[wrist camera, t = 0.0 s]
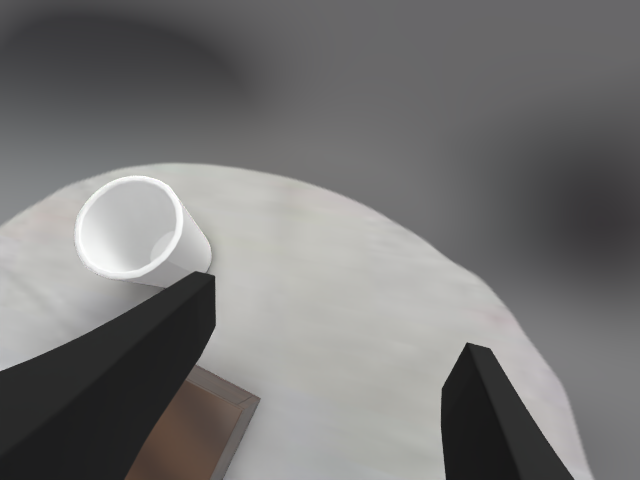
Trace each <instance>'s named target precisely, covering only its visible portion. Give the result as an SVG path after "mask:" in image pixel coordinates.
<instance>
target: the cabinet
mask: <svg viewBox="0 0 640 480" xmlns="http://www.w3.org/2000/svg"><path fill="white" fill-rule="evenodd" d="M259 401H260V398H259V397H257V396H255V395H253V394H251V393H249V392H247V391H246V390H244V389H242V388H240V387H238V386H236V385H234V384H232V383H230V382H228V381H226V380H224V379H222V378H220V377H219V376H217V375H215V374H213V373H211V372H209V371H207V370H205V369H203V368H201V367H199V366H197V365H195V366H194V367H193V369H192V370H191V372H190V373H189V375H188V376H187V378H186V379H185V381H184V383H183V384H182V386H181V387H180V389H179V390H178V392H177V393H176V395H175V396H174V398H173V399H172V401H171V402H170V404H169V405H168V407H167V408H166V410H165V411H164V413H163V414H162V416H161V417H160V419H159V420H158V422H157V423H156V425H155V426H154V428H153V429H152V431H151V433H150V434H149V436H148V438H147V439H146V441H145V443H144V444H143V446H142V448H141V450H140V452H139V454H138V455H137V457H136V459H135V461H134V463H133V465H132V466H131V468H130V470H129V472H128V474H127V476H126V477H125V479H124V480H223V477H224V475H225V473H226V471H227V469H228V467H229V465H230V463H231V460H232V458H233V456H234V454H235V452H236V450H237V448H238V446H239V443H240V441H241V439H242V437H243V435H244V433H245V431H246V429H247V426H248V424H249V422H250V420H251V418H252V416H253V414H254V412H255V409H256V407H257V405H258V403H259Z"/></svg>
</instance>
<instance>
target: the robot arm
mask: <svg viewBox="0 0 640 480" xmlns="http://www.w3.org/2000/svg"><path fill="white" fill-rule="evenodd" d="M215 326H216V310H215V276H213V275H210V274H206V273H202V272H198V271H194V272H193V273H191V274H189V275H187V276H186V277H184V278H182V279H181V280H179V281H177V282H176V283H174V284H173V285H171V286H169V287H168V288H166V289H164V290H163V291H161V292H160V293H158V294H156V295H155V296H153V297H151V298H150V299H148V300H146V301H145V302H143V303H141V304H139V305H138V306H136V307H134V308H133V309H131V310H129V311H127V312H126V313H124V314H122V315H120V316H119V317H117V318H115V319H113V320H111V321H109V322H107V323H106V324H104V325H102V326H100V327H98V328H96V329H94V330H93V331H91V332H89V333H87V334H85V335H83V336H81V337H79V338H77V339H75V340H73V341H70V342H68V343H66V344H64V345H62V346H60V347H58V348H55V349H53V350H51V351H49V352H46V353H44V354H42V355H40V356H37V357H35V358H33V359H30V360H28V361H25V362H23V363H20V364H18V365H15V366H13V367H10V368H8V369H5V370H2V371H0V480H124V479H125V477H126V476H127V474H128V472H129V470H130V468H131V466H132V465H133V463H134V461H135V459H136V457H137V455H138V454H139V452H140V450H141V448H142V446H143V444H144V443H145V441H146V439H147V438H148V436H149V434H150V433H151V431H152V429H153V428H154V426H155V425H156V423H157V422H158V420H159V419H160V417H161V416H162V414H163V413H164V411H165V410H166V408H167V407H168V405H169V404H170V402H171V401H172V399H173V398H174V396H175V395H176V393H177V392H178V390H179V389H180V387H181V386H182V384H183V383H184V381H185V379H186V378H187V376H188V375H189V373H190V372H191V370H192V369H193V367H194V366H195V364H196V363H197V361H198V360H199V358H200V356H201V354H202V352H203V351H204V349H205V347H206V345H207V343H208V341H209V339H210V337H211V335H212V332H213V330H214V328H215ZM441 433H442V444H443V454H444V464H445V474H446V480H574V478H573V477H572V476H571V474H570V473H569V471H568V470H567V468H566V467H565V466H564V464H563V463H562V461H561V460H560V458H559V457H558V456H557V454H556V453H555V451H554V450H553V448H552V447H551V445H550V444H549V443H548V441H547V440H546V438H545V437H544V435H543V434H542V432H541V430H540V429H539V427H538V426H537V424H536V423H535V421H534V420H533V418H532V416H531V415H530V413H529V412H528V410H527V409H526V407H525V405H524V404H523V402H522V401H521V399H520V397H519V396H518V394H517V392H516V391H515V389H514V387H513V386H512V384H511V382H510V381H509V379H508V377H507V376H506V374H505V372H504V371H503V369H502V367H501V366H500V364H499V362H498V361H497V359H496V357H495V356H494V354H493V352H492V351H491V349H490V348H486V347H483V346H479V345H475V344H471V343H466V345H465V347H464V349H463V351H462V352H461V354H460V356H459V358H458V360H457V362H456V364H455V365H454V367H453V369H452V371H451V373H450V375H449V376H448V378H447V380H446V382H445V384H444V386H443V388H442V398H441Z"/></svg>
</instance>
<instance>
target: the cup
mask: <svg viewBox="0 0 640 480" xmlns="http://www.w3.org/2000/svg"><path fill="white" fill-rule="evenodd" d="M74 245H75V248H76V251H77V254H78V256H79V258H80V260H81V261H82V263H83V264H84V266H85V267H86V268H88V269H89V270H91V271H92V272H94V273H95V274H97V275H100V276H103V277H106V278H109V279H114V280H120V281H126V282H132V283H138V284H145V285H151V286H157V287H163V288H168V287H169V286H171V285H173V284H174V283H176V282H177V281H179V280H181V279H182V278H184V277H186V276H187V275H189V274H191V273H193V272H194V271H198V272H202V273H206V272H207V270H208V268H209V266H210V264H211V256H212V254H211V253H212V250H211V246H210V244H209V242H208V240H207V238H206V237H205V235H204V234H203V233H202V231H201V230H200V228H199V227H198V225H197V224H196V223H195V221H194V220H193V218H192V217H191V215H190V214H189V213H188V211H187V210H186V208H185V207H184V205H183V204H182V203H181V201H180V200H179V198H178V197H177V196H176V194H175V193H174V192H173V190H172V189H171V188H170V187H169V186H168V185H166V184H165V183H163V182H161V181H159V180H157V179H153V178H150V177H147V176H128V177H123V178H118V179H116V180H114V181H112V182H110V183H108V184H106V185H104V186H103V187H102V188H100V189H99V190H97V191H96V192H95V193H93V195H92V196H91V197H90V198H89V199H88V200H87V202H86V203H85V204H84V205H83V207H82V209H81V210H80V212H79V214H78V216H77V218H76V223H75V228H74Z"/></svg>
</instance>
